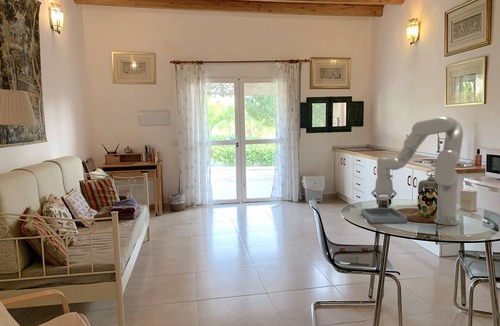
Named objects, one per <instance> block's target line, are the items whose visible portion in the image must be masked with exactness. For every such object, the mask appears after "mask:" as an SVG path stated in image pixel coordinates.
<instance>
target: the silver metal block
mask: <svg viewBox="0 0 500 326" xmlns="http://www.w3.org/2000/svg"><path fill="white" fill-rule="evenodd" d="M382 200H387V204H386V205H383V204H382V203H381V201H382ZM377 208H378V209H389V208H390V206H389V196H388V195H379V198H378V204H377Z"/></svg>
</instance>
